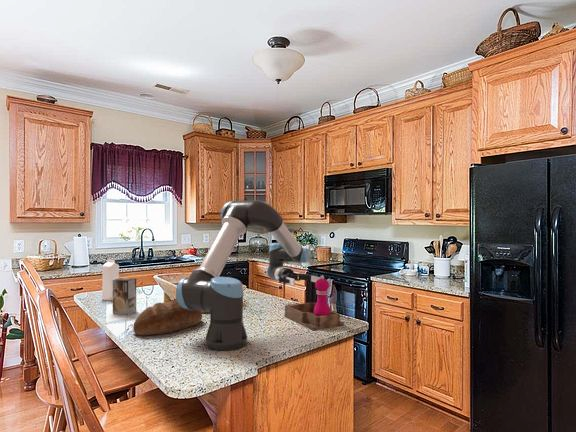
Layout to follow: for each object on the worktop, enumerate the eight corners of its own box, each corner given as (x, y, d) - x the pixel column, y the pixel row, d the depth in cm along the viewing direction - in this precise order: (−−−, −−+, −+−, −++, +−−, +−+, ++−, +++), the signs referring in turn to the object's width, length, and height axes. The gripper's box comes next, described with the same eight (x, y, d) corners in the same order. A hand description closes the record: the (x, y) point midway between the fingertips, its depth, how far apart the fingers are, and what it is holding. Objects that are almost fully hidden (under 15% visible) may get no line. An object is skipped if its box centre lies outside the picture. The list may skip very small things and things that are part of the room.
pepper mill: (329, 325, 153) (329, 277, 153) (312, 323, 155) (312, 276, 155) (331, 320, 160) (331, 274, 160) (314, 319, 162) (314, 273, 162)
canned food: (180, 306, 190) (180, 282, 190) (164, 307, 187) (164, 283, 187) (178, 302, 197) (178, 280, 197) (163, 303, 194) (163, 281, 194)
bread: (209, 324, 158) (210, 297, 158) (145, 340, 136) (145, 310, 136) (189, 317, 169) (189, 292, 169) (126, 332, 147) (126, 303, 147)
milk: (111, 297, 209) (111, 258, 209) (118, 298, 206) (119, 259, 207) (101, 299, 203) (102, 259, 204) (109, 300, 201) (110, 260, 201)
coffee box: (137, 311, 178) (137, 278, 178) (128, 314, 172) (128, 280, 172) (120, 310, 180) (121, 277, 181) (111, 313, 174) (111, 279, 174)
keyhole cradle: (312, 330, 149) (312, 318, 149) (284, 316, 170) (284, 305, 170) (344, 325, 157) (344, 313, 157) (313, 312, 178) (313, 302, 178)
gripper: (305, 280, 192) (329, 287, 174) (262, 284, 180) (282, 291, 161) (305, 266, 192) (329, 271, 174) (262, 269, 180) (282, 274, 162)
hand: (306, 281), depth 168 cm, fingers open, 13 cm apart
